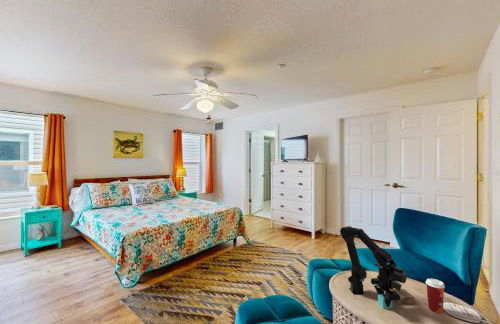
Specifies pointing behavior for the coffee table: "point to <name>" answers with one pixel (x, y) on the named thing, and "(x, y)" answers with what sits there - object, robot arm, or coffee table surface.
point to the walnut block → (404, 297)
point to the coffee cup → (435, 295)
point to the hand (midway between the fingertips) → (384, 304)
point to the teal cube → (383, 302)
